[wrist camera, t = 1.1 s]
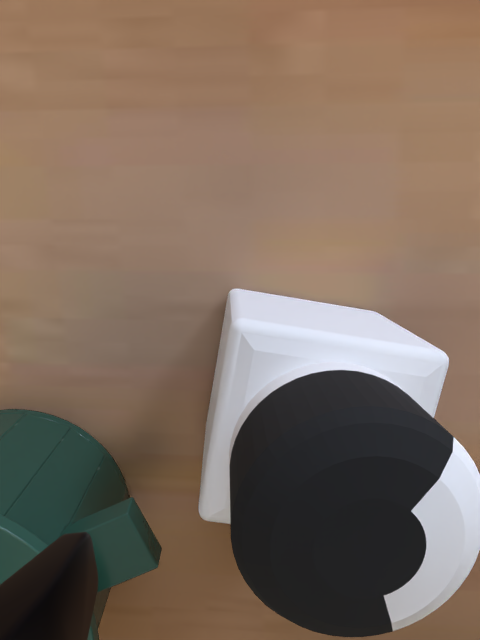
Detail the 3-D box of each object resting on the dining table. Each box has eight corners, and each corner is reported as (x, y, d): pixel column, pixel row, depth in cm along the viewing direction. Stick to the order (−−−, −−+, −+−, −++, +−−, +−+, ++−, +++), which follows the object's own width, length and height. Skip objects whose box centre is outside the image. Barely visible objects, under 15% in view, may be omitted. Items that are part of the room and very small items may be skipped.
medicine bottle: (204, 428, 22) (182, 665, 10) (229, 285, 20) (235, 370, 9) (346, 448, 22) (479, 696, 11) (379, 311, 21) (576, 422, 9)
